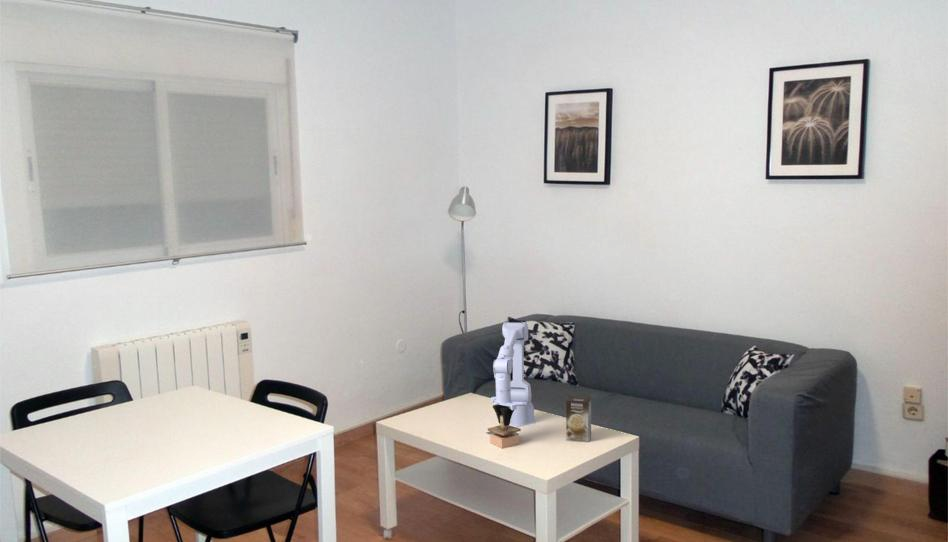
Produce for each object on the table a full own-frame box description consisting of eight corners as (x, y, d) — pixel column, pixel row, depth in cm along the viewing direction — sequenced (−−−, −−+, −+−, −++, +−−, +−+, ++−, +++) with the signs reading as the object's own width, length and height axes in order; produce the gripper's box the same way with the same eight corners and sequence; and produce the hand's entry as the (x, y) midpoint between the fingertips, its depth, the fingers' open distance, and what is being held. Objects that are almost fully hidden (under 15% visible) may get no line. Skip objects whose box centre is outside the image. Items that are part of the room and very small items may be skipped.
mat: (505, 428, 316) (505, 428, 316) (519, 435, 308) (519, 434, 308) (485, 433, 311) (485, 432, 311) (499, 439, 302) (499, 438, 302)
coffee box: (565, 440, 299) (564, 400, 298) (569, 435, 305) (568, 396, 304) (589, 442, 296) (588, 401, 295) (592, 437, 302) (591, 397, 301)
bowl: (507, 440, 302) (507, 430, 302) (519, 445, 295) (518, 435, 295) (490, 444, 298) (490, 434, 297) (502, 449, 291) (501, 439, 291)
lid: (504, 425, 302) (504, 411, 302) (520, 430, 295) (520, 416, 295) (487, 430, 296) (487, 415, 296) (503, 435, 290) (503, 420, 289)
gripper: (484, 387, 298) (485, 421, 300) (505, 395, 286) (506, 430, 288) (499, 384, 302) (500, 418, 303) (520, 392, 290) (521, 427, 291)
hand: (504, 424), depth 296 cm, fingers closed on lid, 3 cm apart
